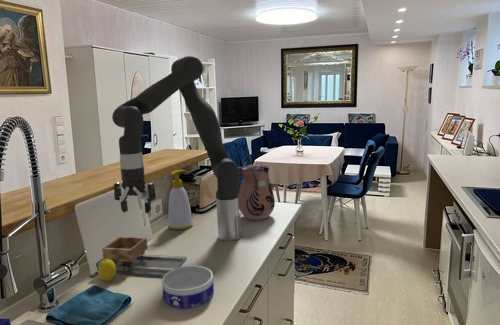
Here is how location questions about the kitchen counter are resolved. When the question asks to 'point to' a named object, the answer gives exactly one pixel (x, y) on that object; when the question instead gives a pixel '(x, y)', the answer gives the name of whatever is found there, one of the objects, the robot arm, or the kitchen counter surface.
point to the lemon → (106, 269)
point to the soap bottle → (179, 205)
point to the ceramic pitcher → (255, 192)
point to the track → (148, 265)
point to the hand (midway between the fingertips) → (136, 212)
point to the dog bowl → (187, 286)
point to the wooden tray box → (125, 249)
